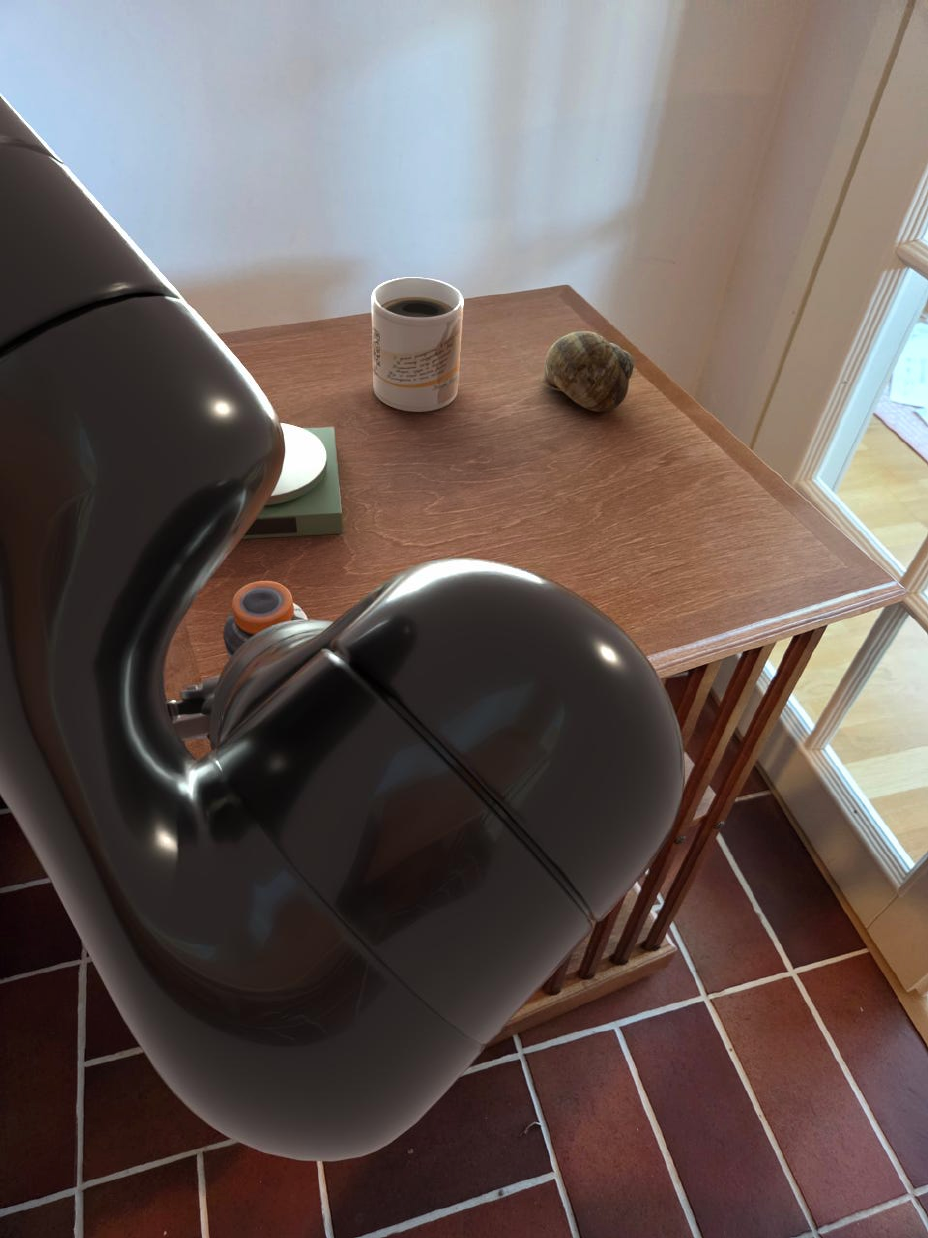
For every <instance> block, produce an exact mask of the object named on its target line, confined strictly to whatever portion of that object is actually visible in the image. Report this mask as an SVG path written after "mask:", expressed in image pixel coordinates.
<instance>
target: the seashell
mask: <svg viewBox="0 0 928 1238" xmlns="http://www.w3.org/2000/svg"><path fill="white" fill-rule="evenodd" d="M635 365H636V364H635V361H634V357H633V355H631V354H630V353H629V352H628V351H626V350H624V349H622V348H621V347H620V346H619V345H617V344H615V343H614V342H613V343H612V342H608V341H607V340H606V339H605V338H604V337H603V336H602V335H601V334H598V333H596V332H594V331H591V330H589V331H588V330H579V331H573V332H570V333H567V334H565V335H563V336H561V337H560V338H559V339H557V340H556V341H555V342H554V343H552V344H551V347H550V348H549V349H548V351H547V353H546V356H545V359H544V366H543V369H544V370H543V371H544V372H543V373H542V375H541V378H540V381H541V383H542V384H543V385H544V386H546V387H547V388H549V389H551V390H552V389H553V390H555V391H560V392H563V393H564V394H565V395H566V396H567V397H568V398H570V399H571V400H572V401H573V402H575V403H576V404H578V405H579V406H581V407H582V408H584V409H586V410H589V411H592V412H609V411H611V410H613V409H615V408H617V407H618V406H620V405H621V404H622V403H623V402H624V400H625V399H626V397H627V394H628V392H629V384H630V379H631V377H632V375H633V373H634V368H635Z"/></svg>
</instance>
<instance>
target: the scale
mask: <svg viewBox="0 0 928 1238" xmlns="http://www.w3.org/2000/svg"><path fill="white" fill-rule="evenodd" d="M280 423H281V426H282V429H283V432H284V438H285V445H286V454H285V459H284V464H283V469H282V473H281V476H280V479H279V481H278V483H277V486H276V488H275V490H274V492H273V493H272V495H271V496H270V498H269V500H268V501H267V503H266V504H265V506H264V508H263V509H262V511H261V512H260V514H259V516H258V517H257V519H256V520H255V522H254V523H253V524H252V525H251V527H250V528H249V529H248V531H247V532H246V533H245V535H244V536H243V537H242V539H241V540H246V539H247V540H248V539H265V538H283V537H285V538H286V537H300V536H301V537H303V536H322V535H323V536H324V535H337V534H338V535H339V534H344V527H343V512H342V511H343V510H342V499H341V488H340V487H341V486H340V477H339V476H340V475H339V465H338V455H337V453H338V452H337V442H336V430H335V427H334V426H329V427H327V426H326V427H325V426H324V427H302V428H301V427H298V426H295V425H292V424H288V423H283V422H280Z"/></svg>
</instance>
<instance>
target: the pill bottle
mask: <svg viewBox="0 0 928 1238" xmlns="http://www.w3.org/2000/svg"><path fill="white" fill-rule="evenodd" d="M231 608H232V612H231V613H230V614H229V616H228V617H227V619H226V621H225V623H224V626H223V634H222V635H223V641H224V645H225V650H226V655H227V658H228V659H227V660H229V659H230V658H231V656H232V655H233V654H234V653H235V652H236V650H237V649H238V648H239V647H240V646H241V645H242V644H243V643H245V642H246V641H247V640H248V639H250V638H251V637H252V636H254V635H255V634H257V633H258V632H260V631H262V630H264V629H266V628H268V627H270V626H273V625H276V624H279V623H282V622H286V621H292V620H301V619H309V618H308V617H307V615H306V613H305V612H304V610H303V609H302V608H301V607H300V606H299V605H298V604H296V603H294V602H293V597H292V594H291V592H290V590H289V589H288V588H287V587H286V586H285V585H283V584H281V583H279V582H276V581H272V580H259V581H254V582H250V583H248V584H246V585H244V586H242V587H241V588H240V589H238V590H237V592H236V593H235V594H234V596H233V597H232V601H231Z"/></svg>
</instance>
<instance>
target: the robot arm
mask: <svg viewBox="0 0 928 1238" xmlns="http://www.w3.org/2000/svg"><path fill="white" fill-rule="evenodd" d="M281 423H282V422H281V421H280V418H279V416H278V414H277V412H276V411H275V408H274V406H273V405H272V403H271V401H270V399H268V397H267V395H266V394H265V393H264V391H263V389H262V388H261V387H260V386H259V384H258V382H257V381H256V380H255V378H254V377H253V376H252V374H251V373H250V372H249V371H248V369H247V368H246V367H245V366H244V365H243V364H242V363H241V361H240V360H239V359H238V358H237V356H236V355H235V354H234V353H233V352H232V350H231V349H229V347H228V346H227V345H226V343H224V341H223V340H222V339H221V338H220V337H219V336H218V335H217V334H216V333H215V331H214V330H213V329H212V328H211V327H210V326H209V325H208V324H207V322H206V321H205V320H204V319H203V318H202V317H201V316H200V315H199V314H198V312H197V311H196V310H195V309H194V308H192V307H191V306H190V305H189V304H188V303H187V301H186V300H185V299H184V297H182V295H181V294H180V293H179V292H178V290H177V289H176V288H175V287H174V286H173V285H172V284H171V283H170V282H169V280H168V279H167V278H166V277H165V276H164V275H163V274H162V272H160V271H159V269H158V268H157V267H156V266H155V265H154V263H152V261H151V260H150V259H149V258H148V257H147V256H146V254H144V253H143V251H142V250H141V249H140V248H139V246H137V244H136V243H135V242H134V241H133V240H132V239H131V237H130V236H128V234H127V233H126V232H125V231H124V230H123V229H122V228H121V227H120V225H119V224H118V222H116V221H115V220H114V219H113V217H112V216H110V214H109V213H108V212H107V211H106V210H105V209H104V208H103V206H102V205H101V204H100V203H99V201H97V199H96V198H95V197H94V196H93V195H92V194H91V193H90V192H89V191H88V189H87V188H86V187H85V186H84V185H83V184H82V183H81V181H80V180H79V179H78V178H77V177H76V176H75V175H74V174H73V172H71V170H70V169H69V167H67V166H66V165H65V163H64V162H63V161H62V160H61V159H60V158H59V157H58V156H57V154H55V152H54V151H53V150H52V149H51V148H50V147H49V145H48V144H47V143H46V142H45V141H44V140H43V139H42V138H41V137H40V135H38V133H37V132H36V131H35V130H34V129H33V128H32V127H31V126H30V125H29V124H28V122H27V121H26V120H25V119H24V118H23V117H22V116H21V115H20V114H19V112H18V111H17V110H16V109H15V108H14V107H13V106H12V105H11V103H10V102H9V101H8V100H7V99H6V98H5V97H4V96H3V95H2V94H1V93H0V797H1V798H2V800H3V802H4V803H5V805H6V807H7V808H8V810H9V811H10V813H11V814H12V816H13V818H14V820H15V821H16V822H17V824H18V827H19V828H20V829H21V831H22V833H23V835H24V837H25V838H26V840H27V842H28V844H29V846H30V847H31V849H32V851H33V853H34V854H35V856H36V858H37V860H38V861H39V863H40V865H41V867H42V869H43V870H44V872H45V874H46V875H47V877H48V879H49V881H50V883H51V884H52V886H53V888H54V890H55V892H56V894H57V897H58V898H59V900H60V902H61V904H62V905H63V908H64V910H65V912H66V913H67V915H68V917H69V919H70V922H71V923H72V925H73V927H74V929H75V931H76V933H77V935H78V937H79V938H80V940H81V943H82V944H83V946H84V948H85V951H86V952H87V954H88V956H89V958H90V960H91V962H92V964H93V966H94V967H95V970H96V971H97V974H98V975H99V977H100V979H101V981H102V983H103V984H104V986H105V989H106V990H107V992H108V994H109V996H110V998H111V1000H112V1001H113V1003H114V1005H115V1007H116V1010H117V1011H118V1013H119V1014H120V1017H121V1018H122V1021H123V1022H124V1024H125V1025H126V1026H127V1028H128V1030H129V1031H130V1033H131V1034H132V1036H133V1038H134V1039H135V1041H136V1042H137V1044H138V1046H139V1047H140V1048H141V1050H142V1052H143V1053H144V1055H145V1057H146V1058H147V1060H148V1062H150V1064H151V1066H152V1067H153V1069H154V1071H155V1072H156V1073H157V1075H158V1076H159V1077H160V1078H161V1079H162V1081H163V1083H165V1085H166V1086H167V1087H168V1088H169V1089H170V1091H171V1092H172V1093H173V1094H174V1095H175V1096H176V1098H178V1099H179V1100H180V1101H181V1103H183V1104H184V1105H185V1107H186V1108H187V1109H189V1110H190V1111H191V1112H192V1113H193V1114H194V1115H196V1116H197V1118H199V1119H200V1120H201V1121H203V1122H204V1123H205V1124H207V1125H208V1126H210V1127H211V1128H212V1129H214V1130H216V1131H217V1132H219V1133H221V1134H222V1135H224V1136H225V1137H227V1138H228V1139H231V1140H233V1141H235V1142H238V1143H239V1144H242V1145H244V1146H246V1147H248V1148H251V1149H253V1150H256V1151H258V1152H262V1153H265V1154H268V1155H274V1156H277V1157H283V1158H287V1159H292V1160H297V1161H301V1162H303V1161H306V1162H339V1161H344V1160H349V1159H356V1158H361V1157H365V1156H367V1155H370V1154H372V1153H375V1152H377V1151H379V1150H382V1149H383V1148H385V1147H387V1146H388V1145H390V1144H392V1143H393V1142H395V1140H397V1139H398V1138H399V1137H400V1136H402V1135H403V1134H404V1133H406V1132H407V1131H408V1130H409V1129H411V1128H412V1127H413V1126H415V1125H416V1124H417V1123H419V1121H420V1120H421V1119H422V1118H423V1117H424V1116H425V1115H426V1114H427V1113H428V1112H429V1111H430V1110H431V1109H432V1108H433V1107H434V1106H435V1105H436V1104H437V1103H438V1101H439V1100H441V1098H443V1096H444V1095H445V1094H446V1093H447V1092H448V1091H449V1090H450V1089H451V1088H452V1086H453V1085H454V1084H455V1083H456V1082H457V1081H458V1080H459V1079H460V1077H461V1076H463V1074H464V1073H465V1072H466V1071H467V1070H468V1069H469V1068H470V1066H471V1065H472V1064H473V1063H474V1062H475V1061H476V1060H477V1058H479V1056H481V1054H483V1052H484V1050H485V1049H486V1045H487V1044H489V1043H490V1042H492V1041H493V1040H494V1039H495V1038H496V1037H497V1036H498V1034H499V1033H500V1032H501V1031H502V1030H503V1029H504V1028H505V1027H506V1026H507V1025H508V1024H509V1023H510V1021H511V1020H513V1018H514V1017H515V1016H516V1015H517V1014H518V1013H519V1012H520V1011H521V1009H522V1008H523V1007H524V1006H525V1005H526V1004H527V1003H528V1002H529V1001H530V999H532V997H533V996H534V995H536V993H537V992H538V991H539V990H540V989H541V987H543V986H544V984H546V982H547V981H548V980H549V979H550V977H552V976H553V974H555V973H556V972H557V970H558V969H559V968H560V967H561V966H562V965H563V964H564V963H565V961H566V960H567V959H568V958H569V957H570V956H571V955H572V954H573V953H574V952H575V951H576V950H577V948H578V947H579V946H580V945H581V944H582V943H583V942H584V941H585V940H586V939H587V937H588V936H589V935H591V933H592V932H593V931H594V929H593V928H594V927H593V922H601V921H603V920H604V919H605V918H606V917H607V916H608V915H609V914H610V913H611V911H612V910H613V909H614V908H616V906H617V905H618V904H619V903H620V901H622V899H623V898H624V897H625V896H626V895H627V894H628V893H629V892H630V890H632V888H633V887H634V886H635V885H636V884H637V883H638V881H640V880H641V878H642V877H643V876H644V875H645V874H646V873H647V871H648V870H649V869H650V868H651V866H652V865H653V864H654V862H655V861H656V859H657V858H658V856H659V854H660V853H661V851H662V849H664V846H665V845H666V843H667V842H668V840H669V839H670V837H671V834H672V832H673V829H674V828H675V825H676V822H677V819H678V817H679V814H680V811H681V808H682V802H683V801H682V800H683V794H684V790H685V784H686V764H685V763H686V762H685V749H684V748H685V747H684V740H683V735H682V731H681V727H680V724H679V721H678V718H677V715H676V712H675V708H674V705H673V703H672V700H671V697H670V695H669V693H668V690H667V689H666V686H665V685H664V684H665V683H664V682H663V681H662V679H661V677H660V675H659V674H658V673H657V671H656V669H655V668H654V666H653V664H652V663H651V662H650V660H649V658H648V657H647V656H646V654H645V653H644V652H643V650H642V649H641V647H639V645H638V644H637V643H636V642H635V641H634V639H632V638H631V637H630V636H629V634H628V633H627V632H626V631H625V630H624V629H623V628H622V627H621V626H620V625H619V624H617V622H615V621H614V620H613V619H612V618H611V617H610V616H609V615H607V614H606V613H605V612H604V611H602V610H601V609H599V608H598V607H597V606H596V605H594V604H593V603H592V602H590V601H589V600H588V599H586V598H585V597H583V596H582V595H580V594H578V592H575V591H574V590H572V589H570V588H568V587H567V586H564V585H563V584H561V583H559V582H557V581H555V580H552V579H550V578H549V577H546V576H544V575H542V574H540V573H536V572H534V571H531V570H528V569H527V568H523V567H519V566H516V565H512V564H509V563H506V562H500V561H495V560H490V559H481V558H475V557H474V558H470V557H452V558H451V557H450V558H440V559H433V560H429V561H425V562H422V563H418V564H415V565H413V566H410V567H409V568H405V569H403V570H402V571H400V572H399V573H397V574H395V575H394V576H392V577H391V578H389V579H388V580H386V581H385V582H383V583H381V584H380V585H378V586H377V587H375V589H374V590H372V591H370V592H369V593H368V594H367V595H366V596H364V597H363V598H362V599H360V600H359V601H358V602H357V603H355V604H354V605H353V606H351V607H350V608H349V609H348V610H346V611H345V612H343V614H341V615H340V616H339V617H338V618H336V620H334V621H333V620H322V619H312V618H308V619H301V620H292V621H286V622H282V623H279V624H276V625H273V626H270V627H268V628H266V629H264V630H262V631H260V632H258V633H257V634H255V635H254V636H252V637H251V638H250V639H248V640H247V641H246V642H245V643H243V644H242V645H241V646H240V647H239V648H238V649H237V650H236V652H235V653H234V654H233V655H232V656H231V658H230V659H228V661H227V662H226V664H225V665H224V667H223V669H222V671H221V673H220V674H219V675H218V674H217V675H215V676H211V677H207V678H204V679H203V681H202V682H199V683H197V684H191V685H187V686H186V688H185V689H182V690H179V695H180V700H176V699H171V700H168V697H167V694H166V678H165V677H166V676H165V674H166V667H167V665H166V664H167V659H168V658H167V657H168V654H169V652H170V651H169V650H170V647H171V644H172V642H173V639H174V637H175V635H176V632H177V630H178V628H179V626H180V624H181V623H182V620H183V619H184V618H185V616H186V615H187V612H188V611H189V609H190V608H191V606H192V604H193V603H194V602H195V600H196V599H197V597H198V596H199V594H200V593H201V591H202V590H203V589H204V587H205V586H206V585H207V583H208V582H209V581H210V579H211V578H212V577H213V576H214V574H215V573H216V571H217V570H218V569H219V568H220V566H221V565H222V563H223V562H224V561H225V560H226V559H227V558H228V556H229V555H230V554H231V553H232V551H233V550H234V549H235V548H236V547H237V545H238V544H239V543H240V541H241V540H243V539H242V537H243V536H244V535H245V533H246V532H247V531H248V529H249V528H250V527H251V525H252V524H253V523H254V522H255V520H256V519H257V517H258V516H259V514H260V512H261V511H262V509H263V508H264V506H265V504H266V503H267V501H268V500H269V498H270V496H271V495H272V493H273V492H274V490H275V488H276V486H277V483H278V481H279V479H280V476H281V473H282V469H283V464H284V459H285V454H286V445H285V438H284V432H283V429H282V426H281ZM206 739H208V741H209V745H210V749H211V751H209V752H208V753H206V754H205V755H203V756H202V757H199V758H198V759H197V758H196V756H194V755H193V754H192V752H191V751H190V750H189V748H188V747H187V746H186V742H185V741H188V740H197V741H203V740H206ZM592 921H593V922H592Z"/></svg>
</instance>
